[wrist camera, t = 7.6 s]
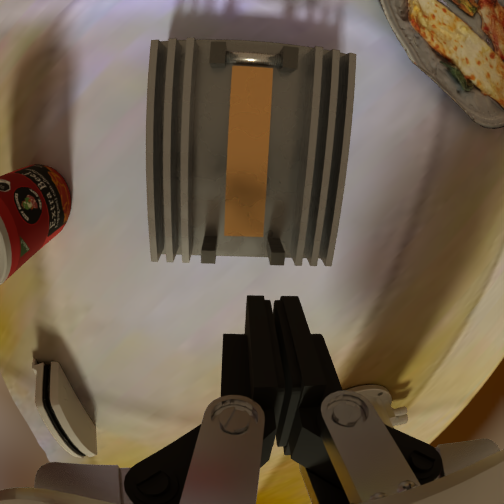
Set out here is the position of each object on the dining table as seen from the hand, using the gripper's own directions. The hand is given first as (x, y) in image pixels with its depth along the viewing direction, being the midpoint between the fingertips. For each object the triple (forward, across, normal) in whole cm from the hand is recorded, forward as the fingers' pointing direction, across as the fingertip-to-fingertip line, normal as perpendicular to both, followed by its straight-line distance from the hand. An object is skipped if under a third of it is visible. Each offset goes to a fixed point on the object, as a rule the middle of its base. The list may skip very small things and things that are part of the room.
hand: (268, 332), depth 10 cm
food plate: (+18, -22, -23) cm, 37 cm away
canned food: (+18, +21, 0) cm, 27 cm away
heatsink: (+17, 0, -5) cm, 18 cm away
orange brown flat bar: (+14, +1, -5) cm, 14 cm away
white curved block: (+18, +26, +30) cm, 44 cm away
